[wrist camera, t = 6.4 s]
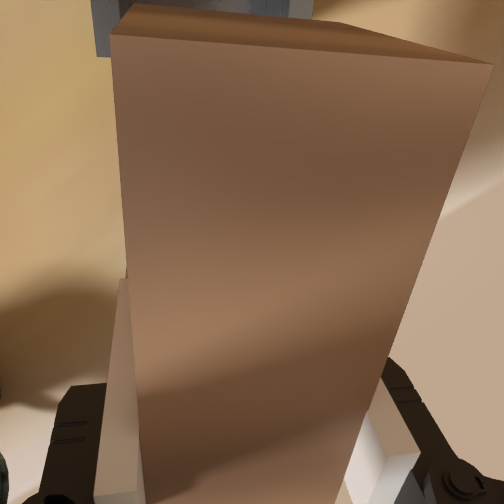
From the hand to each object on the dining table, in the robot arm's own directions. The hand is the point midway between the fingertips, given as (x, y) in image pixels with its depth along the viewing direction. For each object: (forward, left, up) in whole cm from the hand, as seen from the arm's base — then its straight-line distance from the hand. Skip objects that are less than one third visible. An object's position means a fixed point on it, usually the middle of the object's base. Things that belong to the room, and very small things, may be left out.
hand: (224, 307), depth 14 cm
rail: (0, 0, -1) cm, 1 cm away
